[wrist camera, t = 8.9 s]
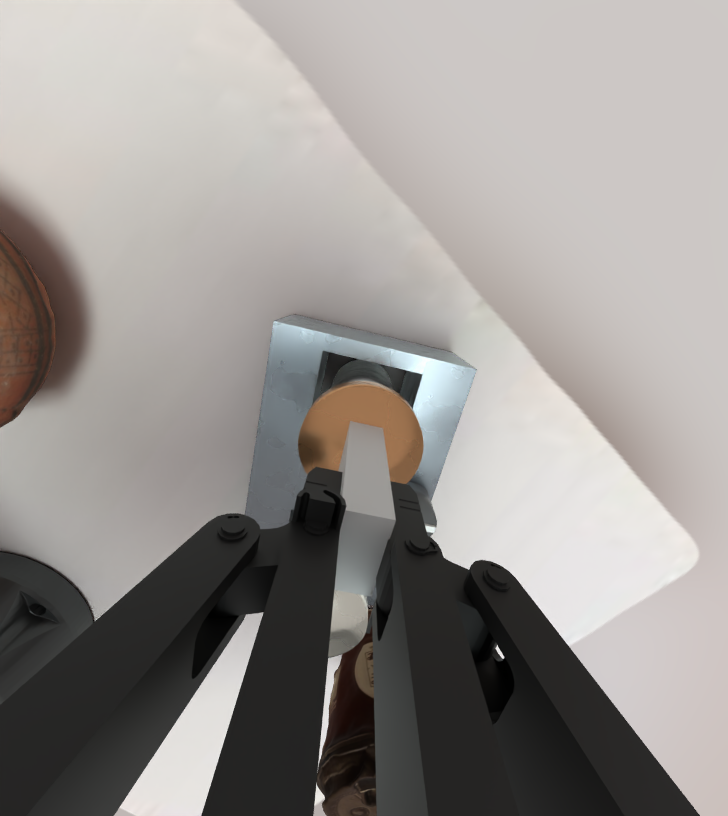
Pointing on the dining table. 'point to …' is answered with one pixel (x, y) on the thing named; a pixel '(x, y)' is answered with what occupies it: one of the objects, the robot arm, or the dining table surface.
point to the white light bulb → (347, 622)
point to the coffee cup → (351, 737)
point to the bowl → (22, 331)
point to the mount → (300, 387)
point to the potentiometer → (425, 507)
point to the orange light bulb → (361, 421)
